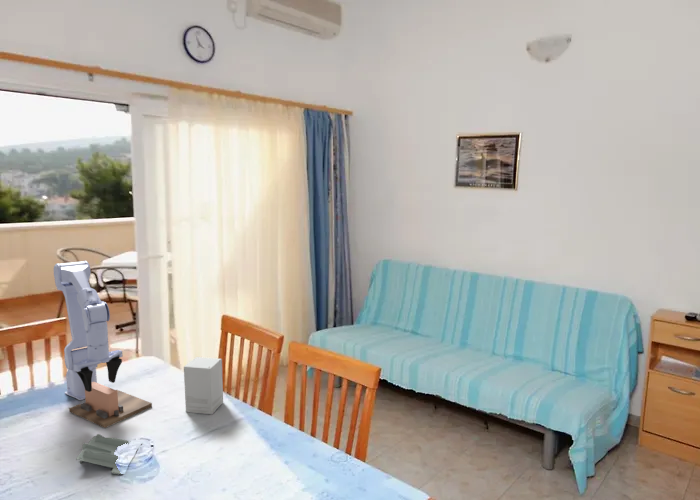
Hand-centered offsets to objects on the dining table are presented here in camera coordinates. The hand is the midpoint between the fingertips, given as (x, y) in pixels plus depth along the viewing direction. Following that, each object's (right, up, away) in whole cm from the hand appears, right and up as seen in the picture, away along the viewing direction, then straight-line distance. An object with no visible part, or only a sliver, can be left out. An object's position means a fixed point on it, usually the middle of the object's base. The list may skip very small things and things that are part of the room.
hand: (100, 386), depth 155 cm
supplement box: (+30, -9, +6) cm, 32 cm away
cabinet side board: (+1, -8, +4) cm, 9 cm away
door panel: (0, -7, +1) cm, 8 cm away
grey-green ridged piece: (+13, -13, -23) cm, 29 cm away
